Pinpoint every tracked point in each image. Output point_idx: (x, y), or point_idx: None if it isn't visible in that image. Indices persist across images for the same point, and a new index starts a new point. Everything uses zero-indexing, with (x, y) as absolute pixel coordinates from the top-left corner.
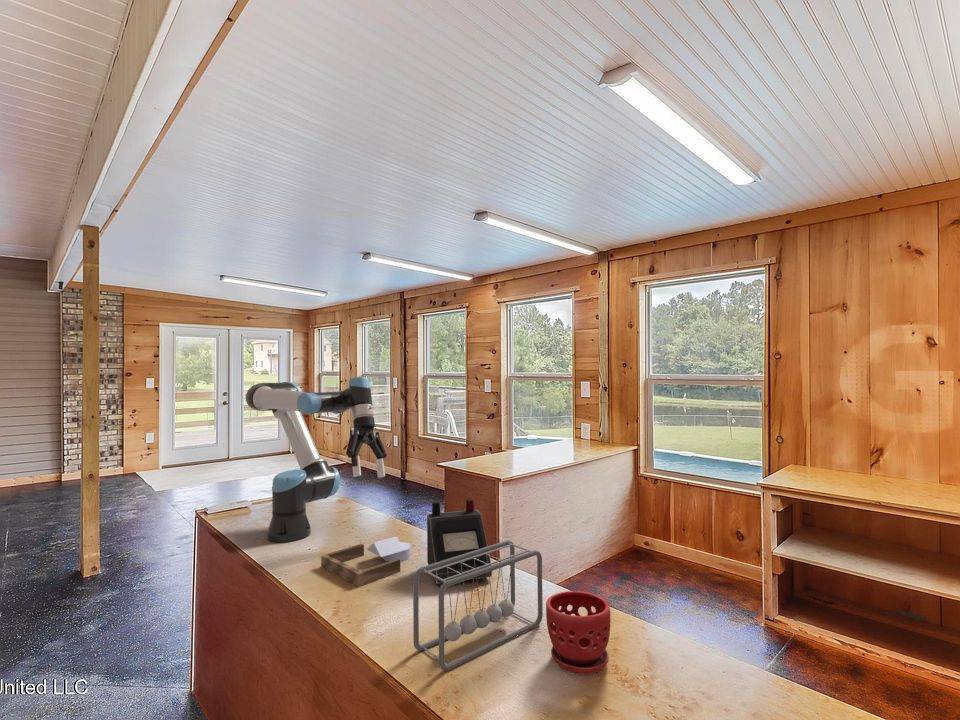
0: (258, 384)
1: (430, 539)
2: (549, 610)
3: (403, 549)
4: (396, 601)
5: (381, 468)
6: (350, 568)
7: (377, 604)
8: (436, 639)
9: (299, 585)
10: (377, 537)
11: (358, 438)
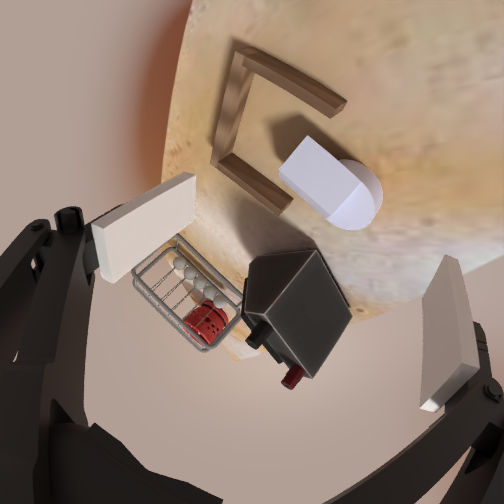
0: None
1: (261, 286)
2: (183, 320)
3: (325, 217)
4: (218, 209)
5: (430, 328)
6: (217, 142)
7: (204, 190)
8: (186, 246)
9: (189, 63)
10: (489, 113)
11: (15, 431)
